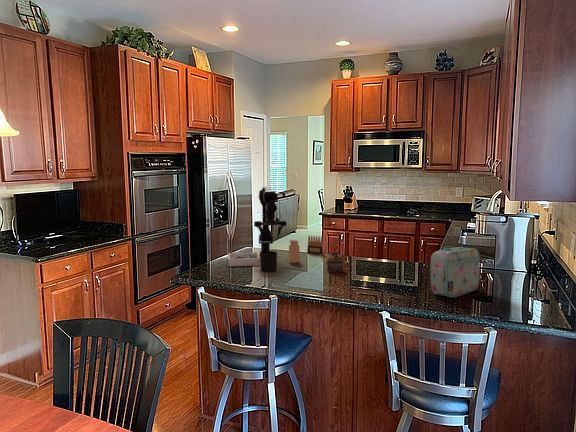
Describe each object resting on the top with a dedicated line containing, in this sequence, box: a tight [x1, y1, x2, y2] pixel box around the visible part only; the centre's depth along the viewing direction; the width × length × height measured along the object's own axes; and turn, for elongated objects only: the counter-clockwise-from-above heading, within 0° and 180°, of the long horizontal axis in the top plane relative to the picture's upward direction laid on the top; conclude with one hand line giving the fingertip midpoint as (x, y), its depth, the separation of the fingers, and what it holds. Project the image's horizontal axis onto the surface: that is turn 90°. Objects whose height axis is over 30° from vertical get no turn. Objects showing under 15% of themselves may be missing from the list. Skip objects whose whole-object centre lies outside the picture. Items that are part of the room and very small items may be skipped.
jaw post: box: [288, 239, 300, 264], centre depth 260 cm, size 4×4×13 cm
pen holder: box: [259, 250, 278, 273], centre depth 239 cm, size 9×9×10 cm
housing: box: [227, 251, 260, 267], centre depth 259 cm, size 18×18×4 cm
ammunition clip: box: [307, 234, 324, 255], centre depth 284 cm, size 11×2×12 cm, turn 63°
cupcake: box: [325, 252, 344, 273], centre depth 238 cm, size 10×10×10 cm
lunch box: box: [429, 246, 481, 298], centre depth 196 cm, size 27×10×21 cm, turn 126°
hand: (270, 238), depth 260 cm, fingers open, 9 cm apart
